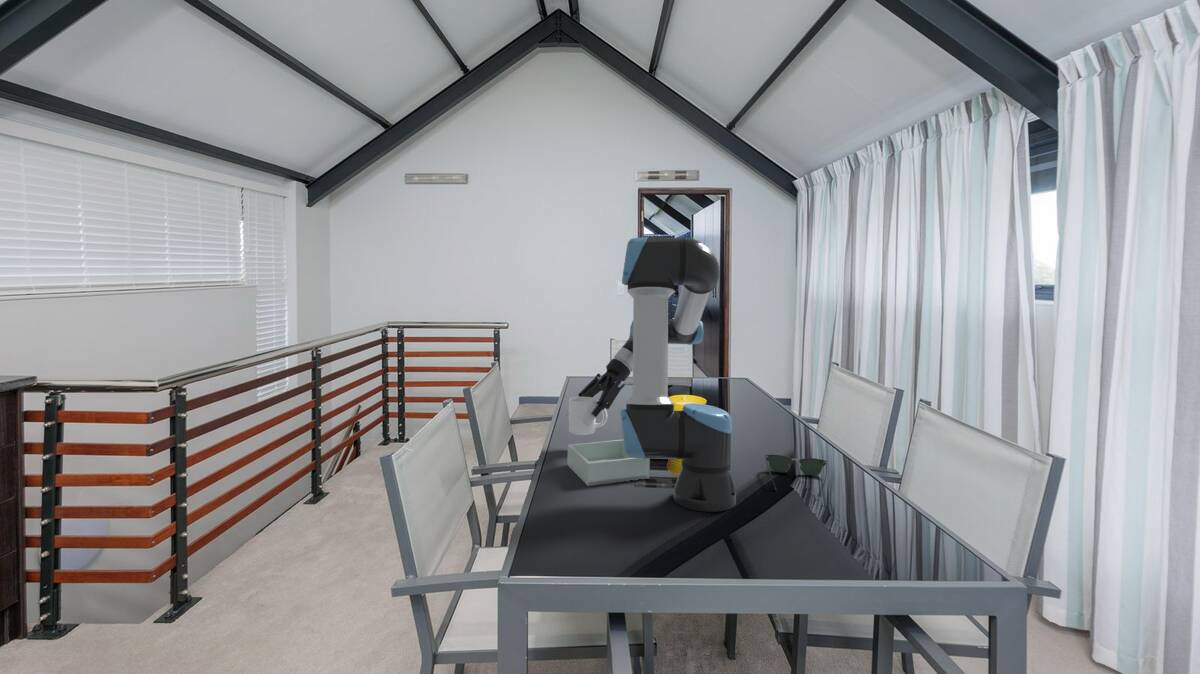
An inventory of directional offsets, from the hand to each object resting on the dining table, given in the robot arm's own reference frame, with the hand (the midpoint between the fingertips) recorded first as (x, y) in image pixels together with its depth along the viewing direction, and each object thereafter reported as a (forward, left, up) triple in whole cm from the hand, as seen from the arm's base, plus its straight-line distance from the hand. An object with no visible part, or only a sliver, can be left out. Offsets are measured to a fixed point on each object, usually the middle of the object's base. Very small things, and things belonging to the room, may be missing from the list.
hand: (577, 420), depth 181 cm
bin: (-20, -2, -10) cm, 22 cm away
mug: (-1, -3, -4) cm, 5 cm away
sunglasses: (-44, -47, -11) cm, 65 cm away
